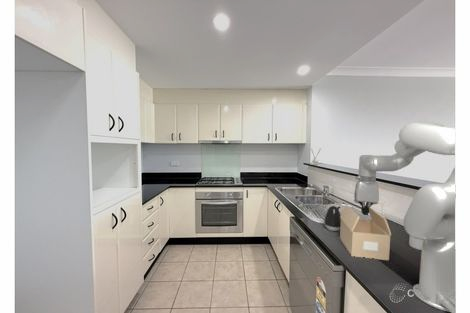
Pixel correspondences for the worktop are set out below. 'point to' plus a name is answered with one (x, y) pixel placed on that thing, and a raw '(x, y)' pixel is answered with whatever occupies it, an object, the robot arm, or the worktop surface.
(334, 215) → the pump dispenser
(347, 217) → the left flap
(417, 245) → the milk bottle
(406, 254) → the worktop surface
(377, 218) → the right flap
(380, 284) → the worktop surface
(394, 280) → the worktop surface
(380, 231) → the carton
